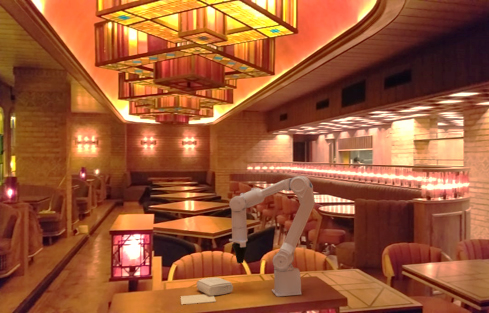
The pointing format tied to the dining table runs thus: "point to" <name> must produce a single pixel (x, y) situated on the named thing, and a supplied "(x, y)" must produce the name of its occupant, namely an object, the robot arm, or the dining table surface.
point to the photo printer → (214, 286)
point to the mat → (197, 299)
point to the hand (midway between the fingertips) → (240, 262)
